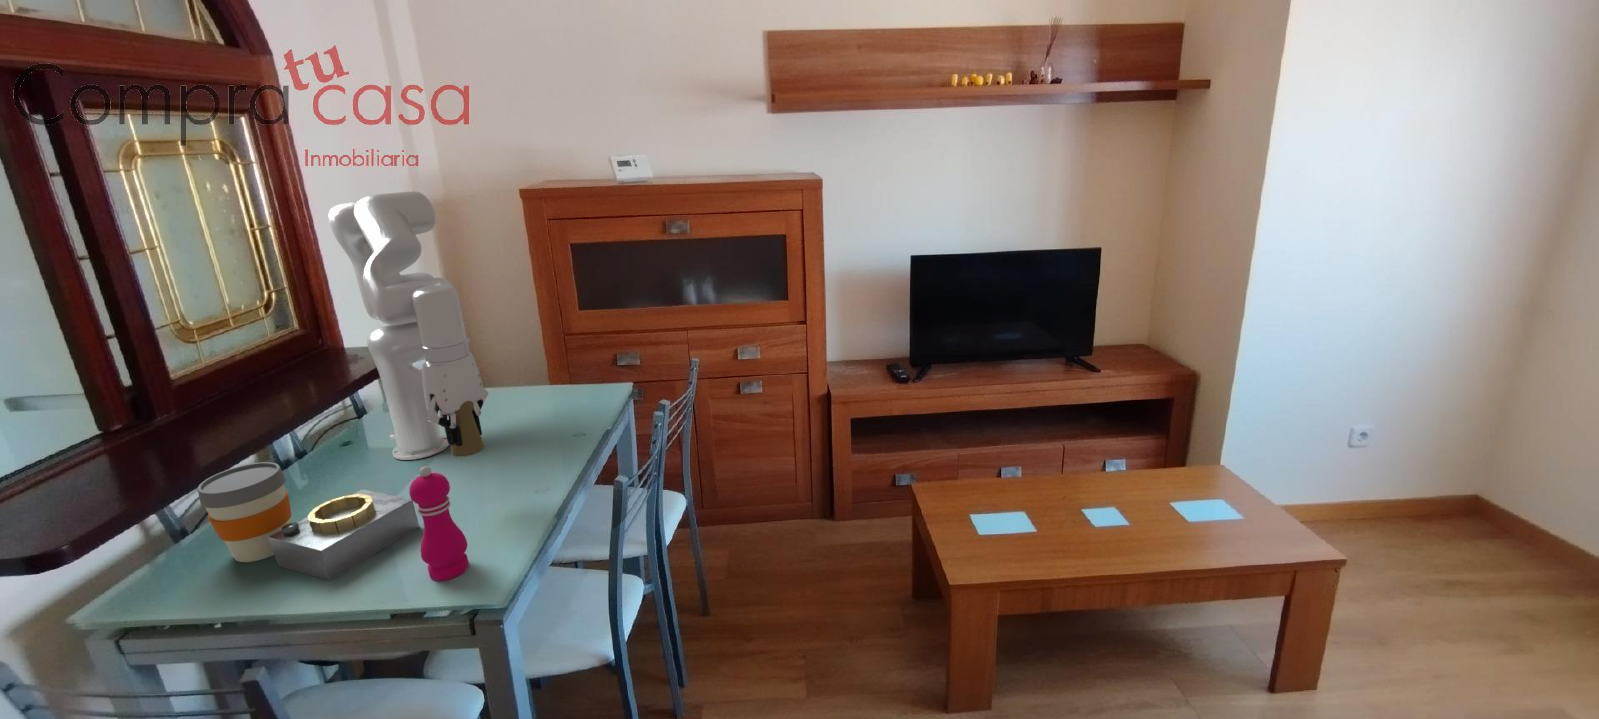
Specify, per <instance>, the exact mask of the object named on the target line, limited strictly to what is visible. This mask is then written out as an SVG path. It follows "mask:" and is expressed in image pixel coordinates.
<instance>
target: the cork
mask: <svg viewBox="0 0 1599 719" xmlns="http://www.w3.org/2000/svg"><path fill="white" fill-rule="evenodd" d="M473 407H474V405H473V402H472V401H466V402H464V403H463V404H462V405H461V406H460V409H459V410H458V411H456V412H455V414H456V426H458V427H459V428H460V432H461V439H462V443H463V444H462V445H461V446H456V444H454V445H450V453H451V455H452V456H454V457H460V458H461V457H468V456H469V457H470V456H472V455H475V454H478V453H480V452H482V450H484V449H485V444H484V440H483V439H482V435H480V433H479V430H478V427H477V425H476V422H475V419H474V416H473V414H472V411H473ZM447 417H449V415H447Z"/></svg>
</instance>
